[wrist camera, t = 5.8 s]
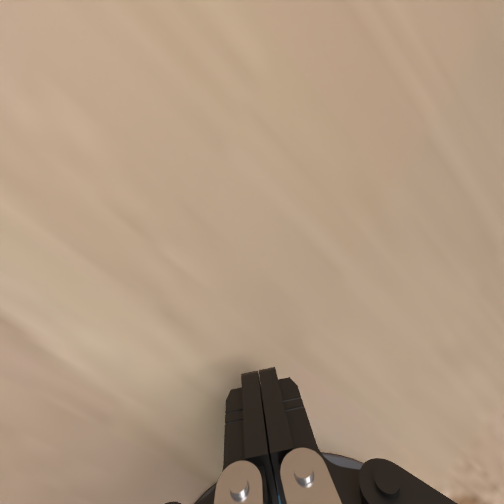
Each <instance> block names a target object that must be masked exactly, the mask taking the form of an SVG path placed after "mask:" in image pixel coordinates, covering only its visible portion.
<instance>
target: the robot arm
mask: <svg viewBox="0 0 504 504" xmlns="http://www.w3.org/2000/svg"><path fill="white" fill-rule="evenodd" d="M259 375H260V379H259ZM241 380H242V387H241V388H236V389H232V390H231V391H230V393H229V395H228V397H227V400H226V415H225V439H224V465H223V471H222V473H221V475H220V477H219V479H218V482H217V485H216V486H215V488H214V489H213V490H212V491H211V492H210V493H209V494H208V495H207V496H206V497H204V498H203V499H201V500H200V501H198V502H197V503H195V504H279V498H278V491H279V496H280V501H281V504H457V503H455V502H454V501H452V500H451V499H449V498H448V497H446V496H444V495H443V494H441V493H440V492H438V491H437V490H435V489H434V488H432V487H430V486H429V485H427V484H426V483H424V482H423V481H421V480H420V479H418V478H417V477H415V476H413V475H412V474H410V473H409V472H407V471H406V470H404V469H403V468H401V467H399V466H398V465H396V464H395V463H393V462H391V461H388V460H385V459H379V458H376V459H371V460H368V461H366V462H365V463H364V464H363V465H362V467H361V469H360V470H359V469H352V468H346V467H341V466H338V465H335V464H334V463H332V462H330V461H329V460H327V459H326V458H325V457H324V456H323V455H322V453H321V452H320V450H319V449H318V447H317V444H316V441H315V438H314V435H313V432H312V429H311V426H310V423H309V420H308V417H307V414H306V411H305V408H304V405H303V402H302V399H301V396H300V393H299V389H298V386H297V385H296V384H295V383H294V382H293V381H292V380H291V379H290V377H289V378H284V379H279V380H278V378H277V374H276V370H275V367H272V368H268V369H263V370H259V374H258V371H253V372H249V373H244V374H241ZM260 382H261V384H260ZM276 482H277V484H276ZM277 486H278V491H277ZM165 504H181V503H178V502H168V503H165Z"/></svg>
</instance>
